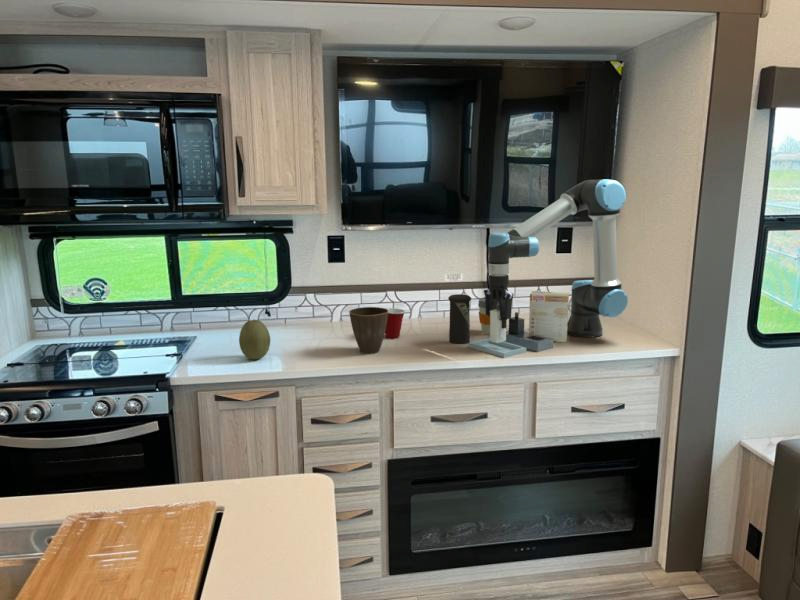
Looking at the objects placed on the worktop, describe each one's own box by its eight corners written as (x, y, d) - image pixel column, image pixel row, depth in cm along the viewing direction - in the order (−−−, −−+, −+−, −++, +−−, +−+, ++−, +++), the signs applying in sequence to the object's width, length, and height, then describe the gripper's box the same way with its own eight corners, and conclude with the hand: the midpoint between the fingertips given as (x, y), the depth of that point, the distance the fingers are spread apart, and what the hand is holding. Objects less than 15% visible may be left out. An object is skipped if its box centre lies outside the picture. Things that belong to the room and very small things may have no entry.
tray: (490, 344, 239) (490, 337, 238) (526, 354, 224) (526, 347, 223) (468, 349, 232) (468, 342, 231) (504, 359, 217) (504, 353, 216)
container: (464, 347, 234) (465, 297, 231) (444, 344, 239) (444, 295, 235) (473, 342, 242) (474, 294, 238) (454, 339, 246) (454, 292, 243)
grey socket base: (514, 339, 245) (515, 309, 243) (553, 350, 229) (554, 317, 227) (498, 343, 240) (499, 312, 237) (537, 354, 224) (538, 320, 222)
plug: (499, 338, 230) (499, 303, 227) (505, 340, 227) (506, 304, 225) (490, 341, 227) (490, 305, 224) (496, 343, 224) (497, 306, 222)
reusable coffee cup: (485, 338, 248) (486, 303, 245) (472, 331, 260) (473, 297, 257) (512, 335, 252) (513, 301, 249) (498, 329, 263) (499, 296, 261)
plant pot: (375, 358, 220) (375, 316, 217) (342, 353, 227) (341, 312, 224) (395, 349, 233) (395, 309, 230) (363, 344, 240) (362, 305, 237)
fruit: (276, 355, 225) (274, 317, 222) (262, 364, 215) (260, 323, 212) (249, 353, 228) (247, 315, 225) (234, 362, 217) (231, 322, 215)
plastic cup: (409, 339, 248) (408, 311, 246) (384, 341, 245) (383, 312, 242) (401, 333, 258) (400, 306, 256) (377, 335, 255) (376, 307, 252)
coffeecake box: (567, 338, 246) (569, 292, 243) (565, 342, 240) (568, 295, 236) (530, 335, 251) (532, 290, 248) (528, 340, 245) (529, 293, 241)
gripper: (475, 273, 227) (475, 332, 231) (508, 278, 214) (507, 341, 218) (489, 271, 231) (489, 329, 236) (522, 275, 218) (521, 337, 222)
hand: (498, 335), depth 227 cm, fingers closed on plug, 3 cm apart
